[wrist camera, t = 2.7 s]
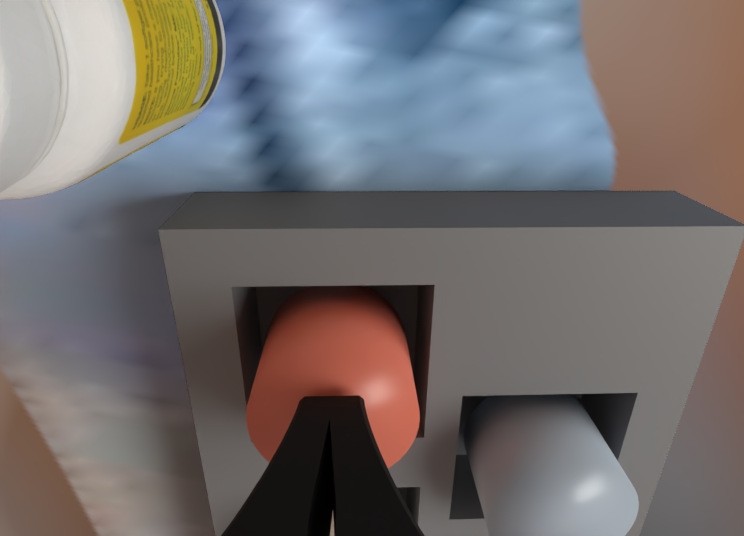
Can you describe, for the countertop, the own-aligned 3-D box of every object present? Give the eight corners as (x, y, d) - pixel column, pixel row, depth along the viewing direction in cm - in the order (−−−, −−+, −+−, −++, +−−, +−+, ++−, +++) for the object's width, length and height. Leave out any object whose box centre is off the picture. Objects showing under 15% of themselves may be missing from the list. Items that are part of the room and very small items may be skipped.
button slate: (574, 475, 17) (620, 565, 14) (458, 477, 17) (481, 569, 14) (597, 380, 15) (655, 461, 12) (469, 382, 15) (497, 464, 12)
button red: (403, 397, 15) (415, 481, 12) (273, 399, 15) (254, 485, 12) (408, 281, 14) (424, 347, 11) (261, 282, 13) (236, 350, 11)
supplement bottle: (121, -129, 11) (-390, -494, 3) (268, 53, 13) (142, 80, 5) (-10, 19, 12) (-616, -7, 5) (140, 169, 14) (-118, 332, 6)
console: (579, 533, 21) (613, 607, 18) (247, 544, 20) (231, 621, 18) (674, 190, 15) (747, 226, 12) (195, 192, 14) (157, 229, 11)
